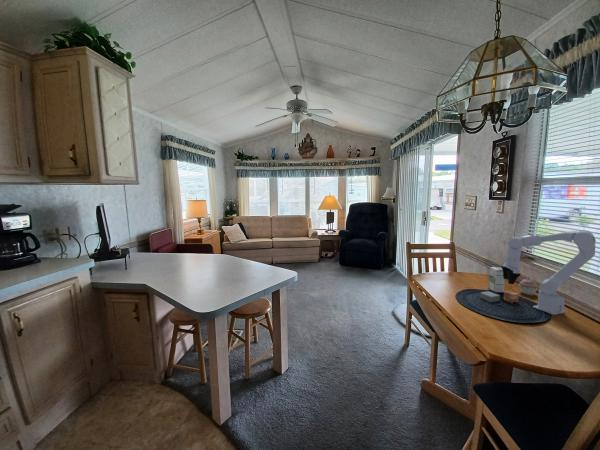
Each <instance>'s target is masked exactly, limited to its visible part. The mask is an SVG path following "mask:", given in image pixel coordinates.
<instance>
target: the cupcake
mask: <svg viewBox="0 0 600 450" xmlns="http://www.w3.org/2000/svg"><path fill="white" fill-rule="evenodd" d="M517 285H518V287H519V291H520V293H521V294H522V293H523V295H525V294H526V296H534V295H536V292H537V291H538V289H539V286H537V285H538V284H537V283H536V282H535V281H534V280H533V279H532V278H530V277H527V278H525V279H524V278H523V279H522V280H521V281H520V282H519V283H518V284H517Z"/></svg>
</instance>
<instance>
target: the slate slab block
mask: <svg viewBox="0 0 600 450" xmlns="http://www.w3.org/2000/svg"><path fill="white" fill-rule="evenodd" d="M500 296H501V295H500V294H497V293H496V292H493V291H489V290H488V291H487V290H486V291H481V292H480V293H479V299H481V298H482V300H484V301H487V302H489V303H495V302H500V298H501V297H500Z"/></svg>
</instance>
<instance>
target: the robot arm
mask: <svg viewBox="0 0 600 450" xmlns="http://www.w3.org/2000/svg"><path fill="white" fill-rule="evenodd" d="M556 241H566V242H570V243H572V241H573V243H574V244H575V245H576V246H577V249H578V251H579V252H578V253H577V254H575V256H573V257H572V258H571V259H570V260H568V261H567V263H566V264H564V265H563V266H562V267H561V268H559V269H558V270H557V272H555V273H554V274H553V275H551V276H550V277H548V278H544V280H543V281H542V282H541V284H540V285H539V286H538V289H539V290H538V294H537V295H538V297H537V304H536V305H533V306H532V307H533V308H535V309H537V310H540V311H542V312H546V313H548V314H550V315H554V316H556V315H560V314H565V304H566V303H565V302H566V300H565V298H564V297H563V296H560V295H559V293H558V292H557V290H558V289H559V287H560V286H561V285H562V284H564V282H565V281H567V280H568V278H570V277H571V276H572V275H574V273H576V272H577V271H579V270H580V269H581V268H582V267H583V266H584V265H586V264H587V262H589V261H590V260H591V259H592V258H593V257H595V254H596V242H597V241H596V238H595V235H594V234H593V232H591V231H589V230H584V229H583V230H579V231H577V230H570V231H563V232H562V231H561V232H557V233H551V234H546V235H539V234H535V233H530V234H529V235H519V236H513V237H512V238H510V239H509V241H508V243H507V244H508V249H507V252H506V256H505V257H506V258H505V261H504V263H503V264H502V265H501V266H500V268H502V270H503V278H504V279H505V280H507V281H508V282H507V283H508V284H509V285H514V284H515V283H516V281H517V280H518V278H519V277H520V276H521V275H522V274H521V273H520V270H519V264H520V259H521V254H522V247H523V248H526V247H534V246H535V247H536V246H540V245H541V244H542V243H546V242H556Z"/></svg>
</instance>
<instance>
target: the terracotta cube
mask: <svg viewBox="0 0 600 450" xmlns="http://www.w3.org/2000/svg"><path fill="white" fill-rule="evenodd" d="M503 299H504V300H503V301H505V300H506V301H505V302H507V301H508V303H510V302H511V304H514V303H513V302H516V303H518V302H519V293H518V292H515V291H512V290H506V291H505V290H504V292H503Z"/></svg>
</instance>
